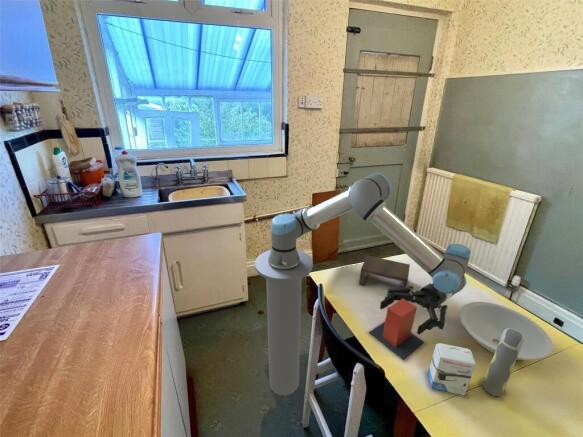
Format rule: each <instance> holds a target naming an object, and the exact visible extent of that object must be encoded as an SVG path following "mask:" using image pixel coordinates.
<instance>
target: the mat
mask: <svg viewBox="0 0 583 437" xmlns="http://www.w3.org/2000/svg"><path fill="white" fill-rule="evenodd" d="M384 326H385V321H383V323H380V324H379V325H378V326H376V327H375V328H373V329H372V330H370V331H369V335H371V336H372V337H373V338H375V339H376V340H377V341H378V342H380V343H381V344H382V345H383V346H385V347H386V348H388V349H389V350H390V351H391V352H393V353H394V354H395V355H396V356H397V357H399V358H400V359H401V360H403V361H404V360H406V359H407V358H408V357H409V356H410V355H411V354H413V353H414V352H415V351H417V350H418V349H419V348H420V347H421V346H422V345H424V344H425V341H424V340H422V339H421V338H419V337H418V336H416V335H415V334H414V333H413V332H411V336H410V337H408V338H407V339H406V340H405V341H403V342H402V343H401V344H399V345H398V346H397V347H394V346H393V345H392V344H390V343H389V342H388V341H387V340H385V339H384V338H383V331H384Z"/></svg>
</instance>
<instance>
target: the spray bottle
mask: <svg viewBox="0 0 583 437" xmlns="http://www.w3.org/2000/svg"><path fill="white" fill-rule="evenodd" d="M523 342H524V337H523V335H522V333H521V332H519V331H518V330H515V329H512V328H508V329H505V330H504V332H503V334H502V337H501V339H500V341H498V347H497V349H496V351H495V353H493V357H492V359H491V361H490V363H489V366H488V369H487V370H486V373H485V376H484V377H483V379H482V381H481V384H482V387H483V389H484V391H486V392H487V393H488V394H490V395H492V396H494V397H502V396H503V395H504V393H505V391H506V387H507V384H508V381H509V379H510V378H511V374H512V372H513V370H514V367H515V364H516V362H517V357H518V355H519V352H520V350H521V347H522V344H523Z"/></svg>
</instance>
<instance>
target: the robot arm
mask: <svg viewBox="0 0 583 437" xmlns="http://www.w3.org/2000/svg"><path fill="white" fill-rule="evenodd" d="M392 189H393V186H392V182H391V180H390V178H389V177H388V176H387V175H385V174H383V173H381V172H373V173H370V174H368V175H367V176H364V177H363V178H360V179H358V180H356V181H355V182H353V183H351V184H350V185H349V188H348V189H347V190H345V191H343V192H341V193H340V194H337V195H335V196H333V197H331V198H329V199H327V200H325V201H323V202H321V203H319V204H317V205H315V206H313V207H312V206H306V207H304V208H300V209H299V210H297V211H296V212H293V213H280V214H277V215H276V216H274V217H273V218H272V220H271V224H270V225H271V226H270V231H271V232H270V234H271V236H270V237H271V249H270V250H271V252H270V256H269V258H268V264H269V265H270V267H272V268H274V269H276V270H283V271H285V270H291V269H294V268H296V267H297V266H298V265H299V263H300V258H299V255H298V252H297V250H298V249H297V239H299V238H300V237H302V236H304V235H305V234H308V233H310V232H312V231H314V230H317V229H319V227H320V226H321V224H324V223H326V222H328V221H330V220H333V219H335V218H338V217H340V216H342V215H345V214H348V213H349V212H351V211H355V213H356V214H357V215H358V216H359V217H360V218H361V219H362V220H364V221H365V222H366V223H371V224H372V225H373V226H375V228H377V229H378V230H379V231H380V232H381V233H382V234H383V235H385V237H387V238H388V239H389V240H390V241H391V242H392V243H393V244H395V245H396V246H397V247H398V249H400V250H401V251H402V252H403V253H404V254H406V255H407V256H408V257H409V258H410V259H411V260H412V261H413V262H415V263H416V265H418V266H419V267H420V268H421V269H422V270H423V271H424V272H426V273H427V274H428V276H430V277H431V278H432V279H431V280H432V281H431V282H429V283H427V284H426V285H424V286H423V287H422V288H421V289H419V290H415V288H414V286H412V285H409V286H407V287H406V288H402V287H397V288H388V289H387V294H386V296H384V299H383V300H382V301H380V304H379V309H380V310H384V309H385V308H388V307H389V306H391V305H393V304H394V303H395V301H396V302H398V301H400V300H401V299H405V300H406V301H408V302H410V303H411V304H413V303H414V304H416V305H419V306H421V307H422V308H424V309H426V311H427V313H428V315H429V318H428V319H426V320H425V321H424V322H422V323H421V324H420V325H418V326H417V331H416V334H417V335H418V336H421V334H423V333H424V332H425V331H426V330H427V331H432V330H433V329H434V328H438V329H439V330H440V331H442V330H444V328H445V324H446V313H447V311H448V307H449V306H448V305H447V304H443V303H445V302H446V301H448V300H449V299H450V298H452V297H453V296H454V295H456V294H458V293H460V292H461V291H462V290H464V288H465V287H466V285H467V279H466V278H467V277H466V276H465V274H466V271H467V268H468V265H469V261H470V259H471V253H472V251H471V249H470V248H469V247H468V246H466V245H464V244H461V243H449V244H447V247H446V250H445V251H444V256H443V255H442V254H441V253H440V252H439V251H438V250H436V249H435V248H434V247H433V246H432V245H431V244H429V243H428V242H427V240H425V239H424V238H422V236H420V235H419V234H418V233H417V232H416V231H415V230H413V229H412V228H411V227H410V226H409V225H408V224H407V223H406V222H404V221H403V220H402V219H401V218H400V217H399V216H397V215H396V214H395V213H394V212H393V211H392V210H390V209H389V207H388V206H387V204H386V200H387V199H388V198H389V197H390V195H391V192H392ZM442 304H443V305H442ZM436 309H438V311H439V317H438V316H437V312H436Z"/></svg>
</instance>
